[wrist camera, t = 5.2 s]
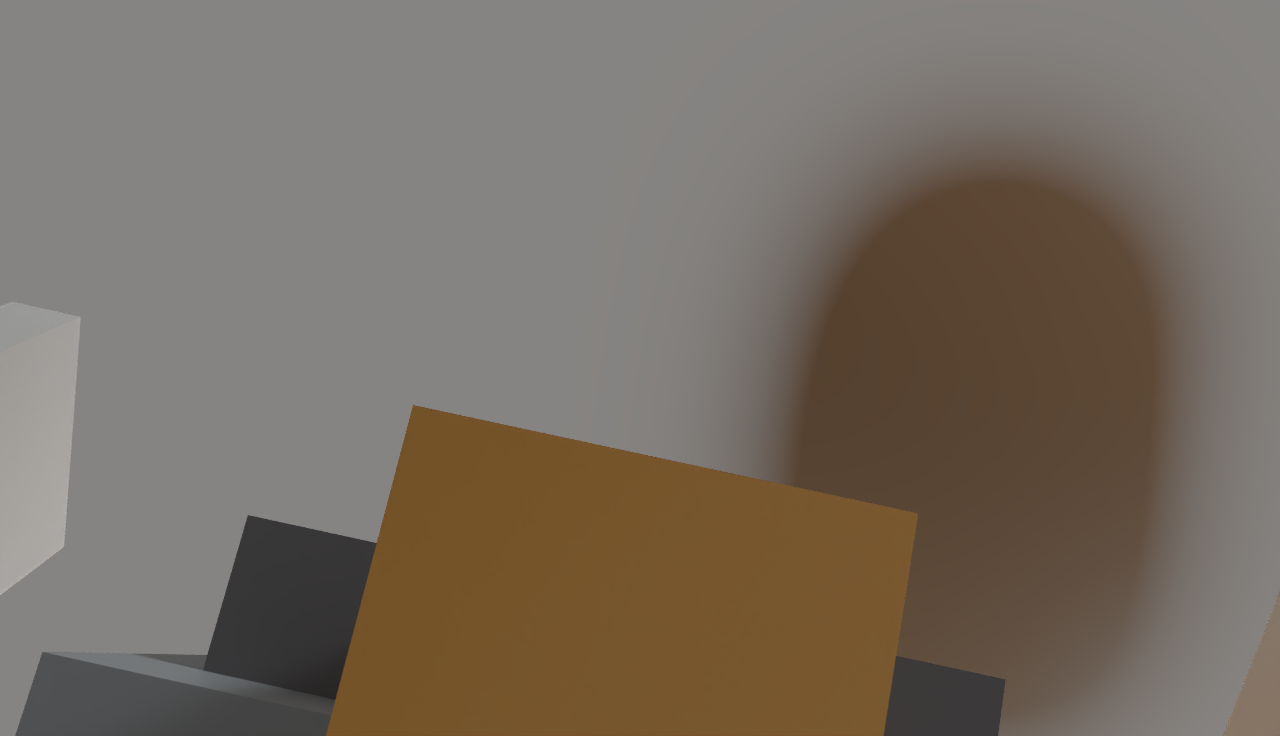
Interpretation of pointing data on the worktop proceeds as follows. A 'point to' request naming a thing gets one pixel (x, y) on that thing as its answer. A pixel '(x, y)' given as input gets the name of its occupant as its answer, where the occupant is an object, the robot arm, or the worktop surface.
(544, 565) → the handle
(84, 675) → the breaker panel
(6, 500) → the robot arm
